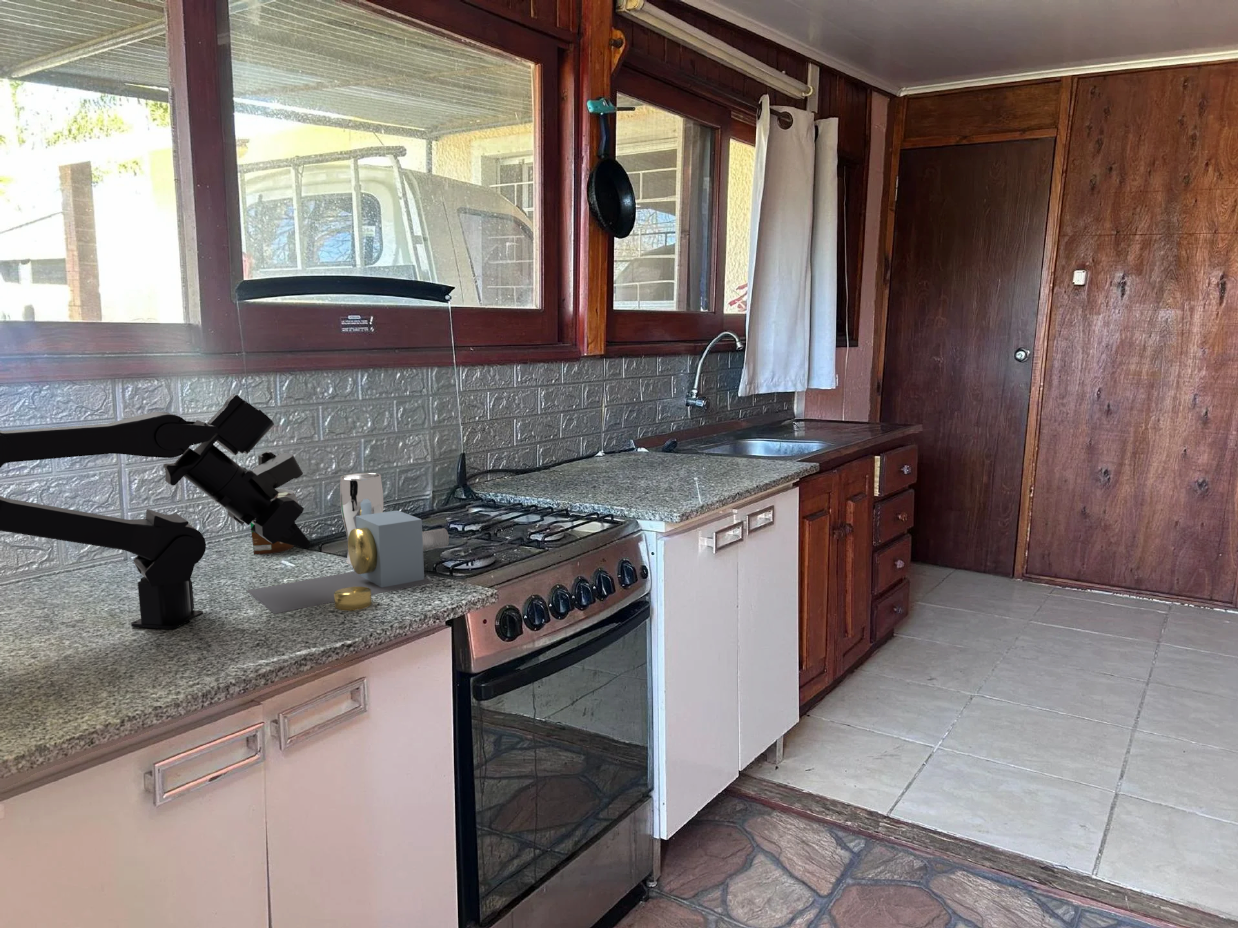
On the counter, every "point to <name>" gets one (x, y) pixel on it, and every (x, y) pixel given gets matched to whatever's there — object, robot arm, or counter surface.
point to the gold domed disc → (352, 598)
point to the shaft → (366, 553)
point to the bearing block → (395, 547)
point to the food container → (261, 543)
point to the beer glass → (359, 498)
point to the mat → (317, 591)
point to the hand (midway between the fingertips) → (307, 545)
